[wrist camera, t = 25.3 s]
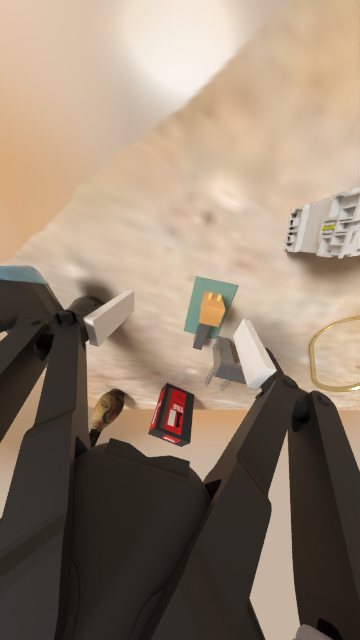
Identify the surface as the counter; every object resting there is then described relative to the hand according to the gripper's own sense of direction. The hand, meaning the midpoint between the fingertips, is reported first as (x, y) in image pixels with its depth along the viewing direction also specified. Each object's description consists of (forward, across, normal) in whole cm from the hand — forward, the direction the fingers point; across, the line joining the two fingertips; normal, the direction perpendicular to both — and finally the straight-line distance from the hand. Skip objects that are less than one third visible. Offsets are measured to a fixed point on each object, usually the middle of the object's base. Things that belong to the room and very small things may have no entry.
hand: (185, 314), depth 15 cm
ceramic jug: (+26, -30, -88) cm, 96 cm away
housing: (+25, +22, -35) cm, 48 cm away
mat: (+25, +7, -11) cm, 28 cm away
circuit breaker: (+25, +24, +16) cm, 37 cm away
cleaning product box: (+25, +7, -65) cm, 70 cm away
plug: (+24, +7, -13) cm, 28 cm away
